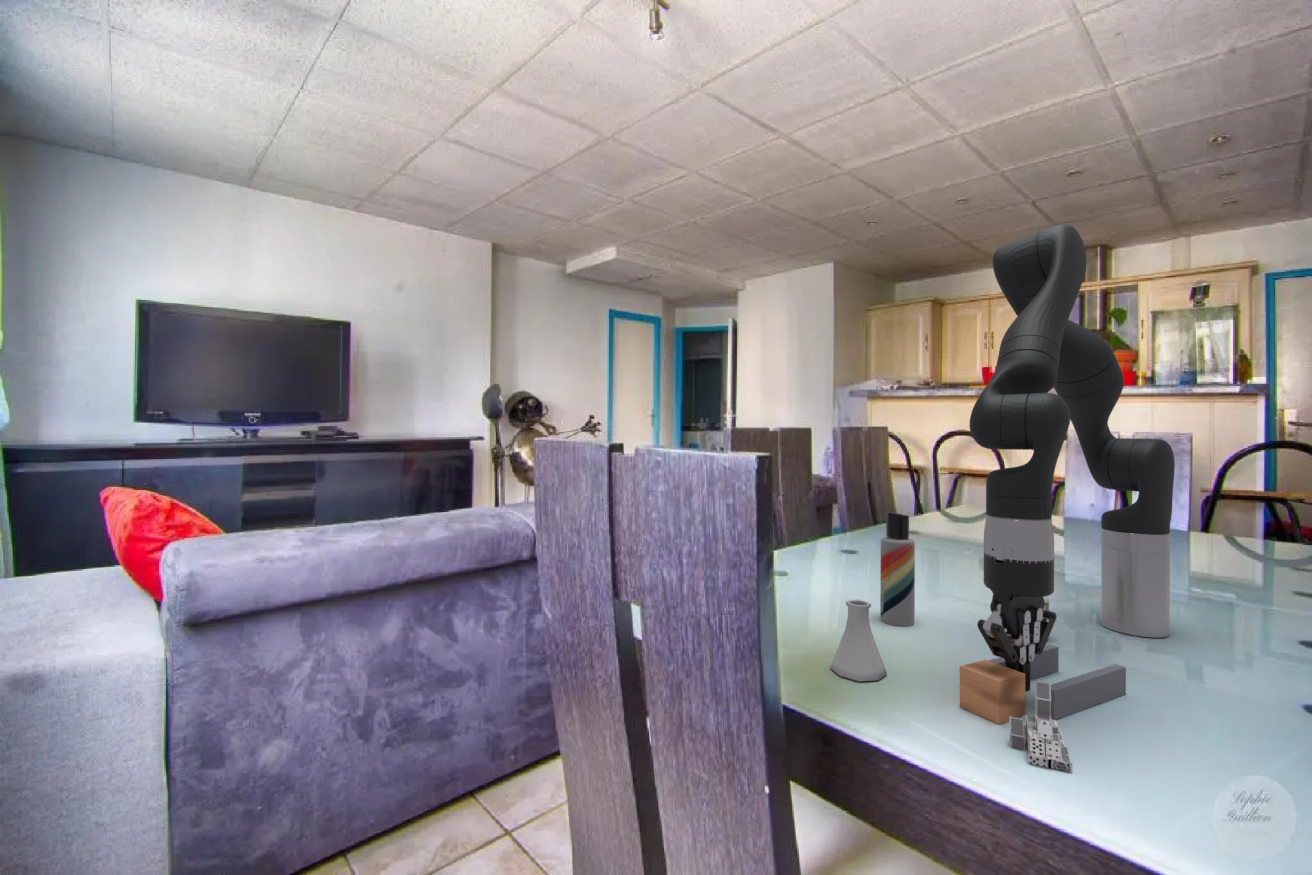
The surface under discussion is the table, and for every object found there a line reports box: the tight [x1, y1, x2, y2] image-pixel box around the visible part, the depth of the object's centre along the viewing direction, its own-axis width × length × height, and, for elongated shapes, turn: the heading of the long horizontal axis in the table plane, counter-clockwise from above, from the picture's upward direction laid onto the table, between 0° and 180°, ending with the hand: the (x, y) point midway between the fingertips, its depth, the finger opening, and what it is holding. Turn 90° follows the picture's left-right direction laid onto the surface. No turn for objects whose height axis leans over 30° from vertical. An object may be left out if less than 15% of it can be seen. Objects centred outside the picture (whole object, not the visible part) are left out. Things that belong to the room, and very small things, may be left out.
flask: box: [829, 599, 888, 682], centre depth 82 cm, size 7×7×10 cm
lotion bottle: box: [879, 511, 916, 628], centre depth 104 cm, size 6×6×20 cm
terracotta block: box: [959, 659, 1026, 725], centre depth 71 cm, size 5×5×5 cm
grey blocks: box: [988, 644, 1127, 721], centre depth 76 cm, size 16×9×4 cm, turn 117°
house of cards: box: [1008, 680, 1073, 774], centre depth 63 cm, size 9×9×8 cm
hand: (1017, 690), depth 73 cm, fingers closed
